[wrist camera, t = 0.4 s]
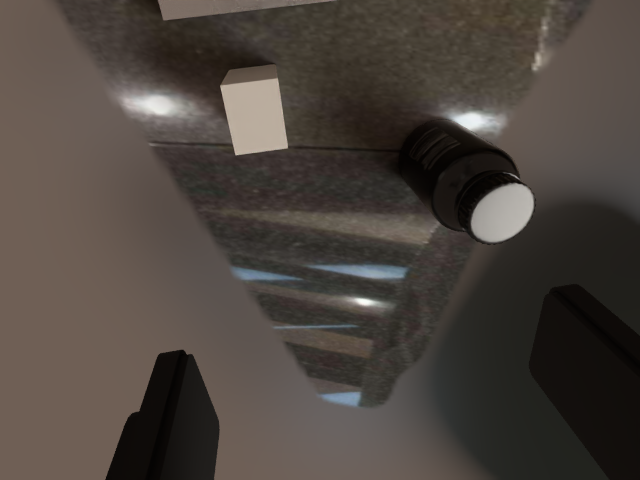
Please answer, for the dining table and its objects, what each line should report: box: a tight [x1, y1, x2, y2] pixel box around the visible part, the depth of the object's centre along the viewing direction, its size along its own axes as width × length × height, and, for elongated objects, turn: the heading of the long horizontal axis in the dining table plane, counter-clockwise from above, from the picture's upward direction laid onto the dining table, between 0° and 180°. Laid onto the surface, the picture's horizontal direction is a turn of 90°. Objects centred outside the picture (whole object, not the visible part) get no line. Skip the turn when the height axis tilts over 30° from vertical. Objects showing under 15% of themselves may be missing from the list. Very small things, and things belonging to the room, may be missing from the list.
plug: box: [220, 64, 288, 155], centre depth 28 cm, size 4×4×7 cm
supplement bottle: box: [399, 119, 536, 245], centre depth 30 cm, size 7×7×12 cm
